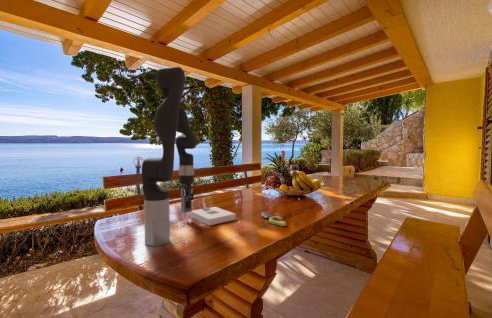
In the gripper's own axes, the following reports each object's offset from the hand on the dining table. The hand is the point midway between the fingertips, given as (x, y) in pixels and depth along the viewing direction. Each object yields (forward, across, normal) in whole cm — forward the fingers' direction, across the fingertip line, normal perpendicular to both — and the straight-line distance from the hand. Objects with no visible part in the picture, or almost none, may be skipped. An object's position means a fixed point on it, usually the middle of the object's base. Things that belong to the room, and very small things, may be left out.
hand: (186, 207), depth 121 cm
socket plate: (+7, +3, +13) cm, 15 cm away
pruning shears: (+7, +25, +36) cm, 45 cm away
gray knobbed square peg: (+2, 0, 0) cm, 2 cm away
